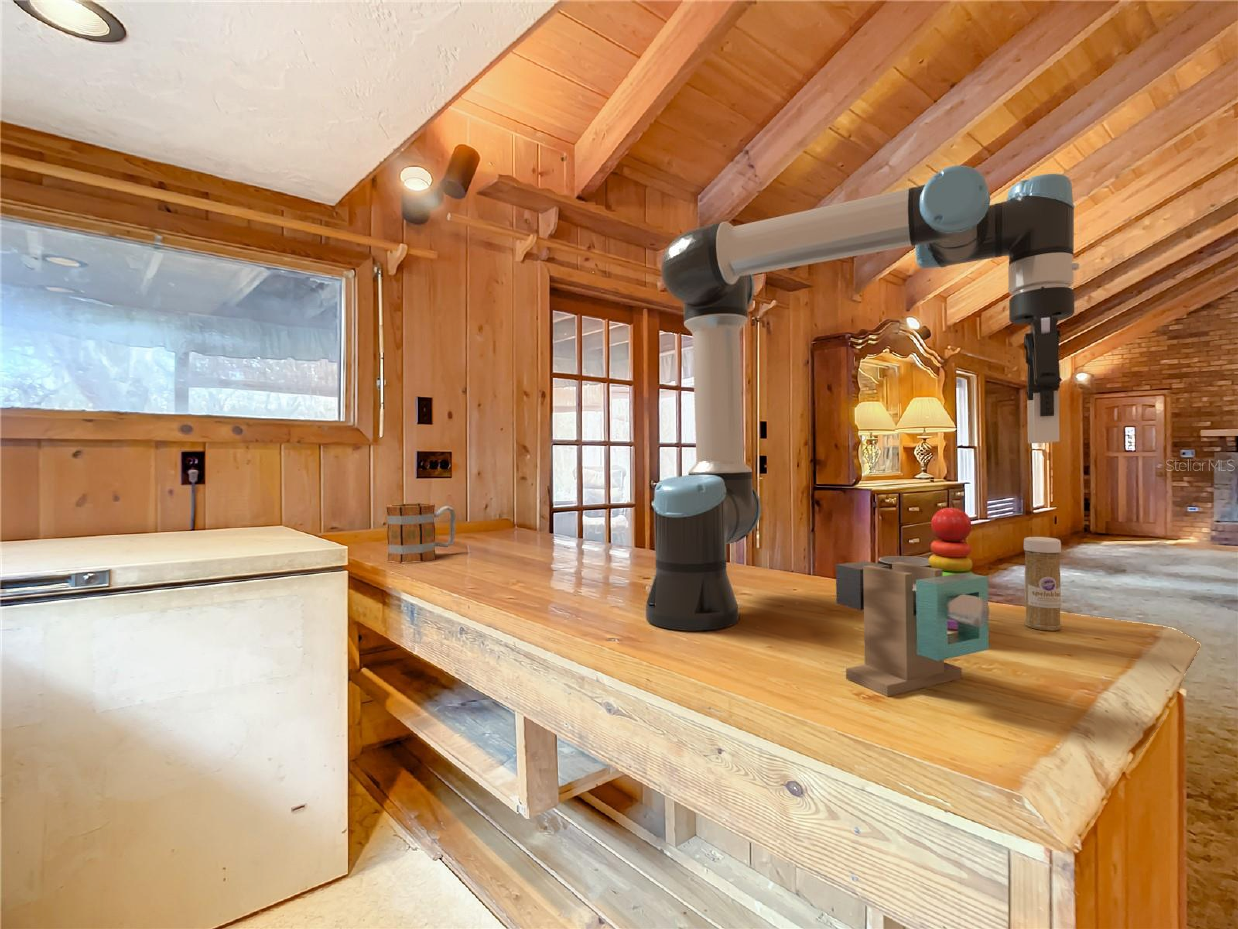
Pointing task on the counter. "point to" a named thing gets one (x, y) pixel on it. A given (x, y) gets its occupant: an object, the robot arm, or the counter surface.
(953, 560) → the stacking toy
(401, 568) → the counter surface
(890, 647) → the bearing block
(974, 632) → the spacer
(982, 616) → the shaft
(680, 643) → the counter surface
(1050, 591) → the sprinkles bottle
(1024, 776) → the counter surface
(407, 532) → the mug
